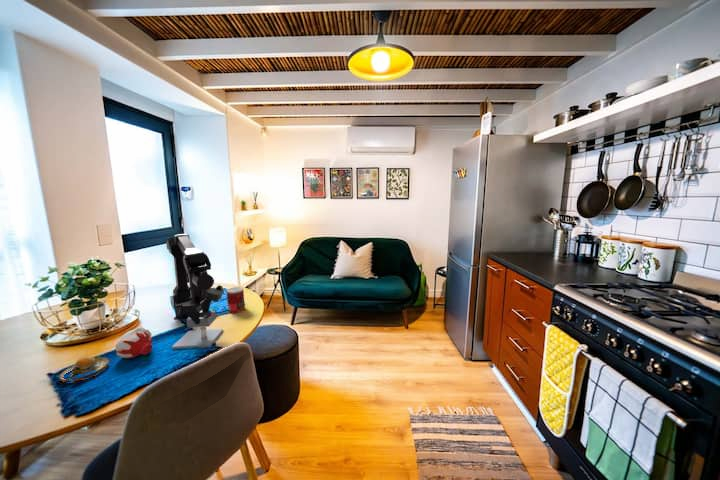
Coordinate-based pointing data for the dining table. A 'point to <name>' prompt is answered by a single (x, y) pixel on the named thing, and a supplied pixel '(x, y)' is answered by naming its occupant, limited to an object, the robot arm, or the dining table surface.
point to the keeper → (198, 338)
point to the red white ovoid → (134, 343)
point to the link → (203, 319)
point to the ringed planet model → (85, 367)
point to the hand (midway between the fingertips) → (202, 319)
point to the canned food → (235, 299)
